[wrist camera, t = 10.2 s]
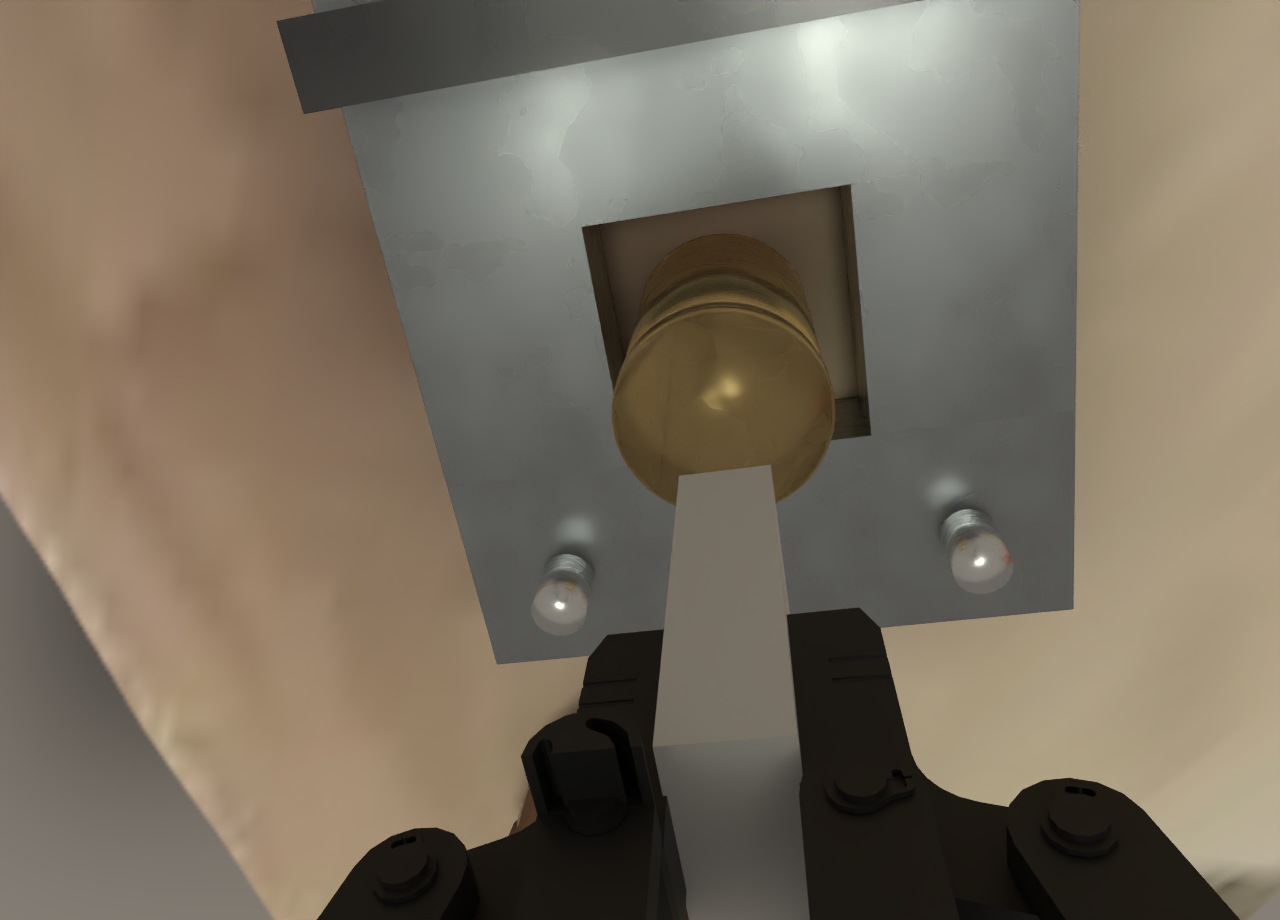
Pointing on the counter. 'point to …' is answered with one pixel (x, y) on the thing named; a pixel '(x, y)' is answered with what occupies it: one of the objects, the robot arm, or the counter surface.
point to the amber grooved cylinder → (723, 371)
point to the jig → (708, 176)
